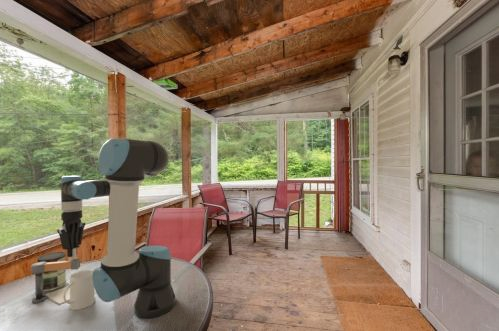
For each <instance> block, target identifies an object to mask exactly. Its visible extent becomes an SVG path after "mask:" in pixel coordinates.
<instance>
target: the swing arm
mask: <svg viewBox="0 0 499 331" xmlns="http://www.w3.org/2000/svg"><path fill="white" fill-rule="evenodd" d="M80 267H81V258H77V259H73V260H70V261H68V260H65V261H59V262H49V263H47V262H39V263H38V262H35V263H33V264H31V265H30V274H31V275H35V274H39V273H42V272H46V271H55V270H65V269H66V270H71V271H72V270H73V271H74V270H79V268H80ZM66 270H65V271H66Z"/></svg>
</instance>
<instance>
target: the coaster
mask: <svg viewBox="0 0 499 331" xmlns="http://www.w3.org/2000/svg"><path fill="white" fill-rule="evenodd" d="M66 288H67V286H65V287H62V288H60V289H56V290H54V291H52V292H48V293H46V294H45V296H46V299H48V300H51V301H52V302H54V303H55V304H57V305H58V306H60V305H62V304H63V305H64V304H66V302H65V301H64V299H63V295H64V291H65V289H66ZM65 298H66V300H67V301H70V287H69V289H68V290H67V292H66V296H65Z"/></svg>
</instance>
